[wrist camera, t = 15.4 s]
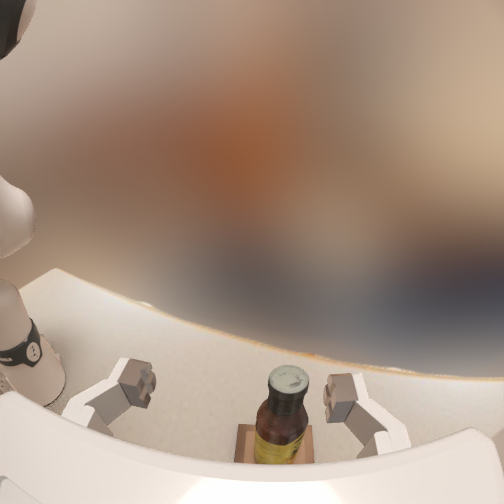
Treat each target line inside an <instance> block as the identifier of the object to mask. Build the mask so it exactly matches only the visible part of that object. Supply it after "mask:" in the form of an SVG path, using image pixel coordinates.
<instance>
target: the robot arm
mask: <svg viewBox="0 0 504 504" xmlns="http://www.w3.org/2000/svg"><path fill="white" fill-rule="evenodd" d="M36 2H37V0H0V60H1V59H3V58H4V57H6V56H7V55H8V54H9V53H10V52H11V51H12V50H13V49H14V48H15V47H16V45H17V44H18V43H19V41H20V39H21V37H22V35H23V34H24V32H25V30H26V29H27V27H28V25H29V23H30V21H31V19H32V17H33V14H34V11H35V7H36ZM35 223H36V217H35V210H34V207H33V204H32V202H31V200H30V198H29V197H28V195H27V194H26V193H25V192H24V191H22V190H21V189H19V188H16V187H14V186H12V185H11V184H9V183H8V182H7V181H5V180H4V179H3V178H2V177H1V175H0V259H2V258H4V257H6V256H8V255H11V254H13V253H14V252H16V251H17V250H19V249H20V248H22V247H23V246H24V245H26V244H27V243H29V242H30V241H31V239H32V236H33V234H34V230H35ZM151 370H152V365H151V363H149V362H144V361H140V360H135V359H131V358H126V357H121V358H120V359H119V360H118V362H117V364H116V365H115V367H114V369H113V371H112V372H111V374H110V376H109V378H108V379H104V380H102V381H101V382H99V383H97V384H95V385H93V386H92V387H90V388H88V389H86V390H85V391H83V392H81V393H79V394H77V395H76V396H74V397H72V398H71V399H70V401H69V402H68V404H67V406H66V407H65V409H64V411H63V413H62V414H61V416H60V415H58V414H56V413H54V412H52V411H50V410H48V409H46V408H44V407H43V406H45V405H47V404H49V403H51V402H52V401H53V400H55V399H56V398H57V397H58V396H59V394H60V393H61V391H62V390H63V387H64V385H65V378H66V377H65V372H64V369H63V367H62V365H61V356H60V355H59V354H58V353H55V352H53V350H52V348H51V347H50V345H49V344H48V342H47V340H46V339H45V337H44V336H43V335H42V334H39V332H38V330H37V327H36V325H35V324H34V322H33V320H32V319H31V318H30V317H29V315H28V313H27V311H26V308H25V306H24V303H23V301H22V298H21V296H20V293H19V291H18V289H17V288H16V286H15V285H14V284H12V283H11V282H9V281H7V280H5V279H0V390H1V391H2V392H3V393H4V394H1V395H0V504H504V474H503V470H502V467H501V463H500V459H499V456H498V453H497V450H496V447H495V444H494V442H493V441H492V439H491V438H490V437H488V436H487V435H485V434H484V433H482V432H481V431H479V430H477V429H475V428H473V427H469V428H465V429H463V430H460V431H458V432H455V433H453V434H450V435H448V436H445V437H442V438H439V439H436V440H433V441H430V442H427V443H424V444H420V445H417V446H413V447H411V443H410V440H409V437H408V433H407V430H406V427H405V425H404V424H402V423H401V422H400V421H399V420H397V419H396V418H395V417H394V416H392V415H391V414H390V413H389V412H388V411H386V410H385V409H384V408H383V407H382V406H380V405H379V404H378V403H377V402H376V401H374V400H373V399H370V398H369V395H368V391H367V388H366V385H365V381H364V378H363V375H362V373H346V374H331V375H329V376H328V379H327V382H328V384H327V385H325V388H324V394H323V400H324V405H325V406H326V407H327V408H326V411H325V415H326V422H327V423H340V422H344V423H345V425H346V426H347V427H348V428H349V429H350V430H351V432H352V433H353V434H354V435H355V436H356V437H357V438H358V440H359V441H360V442H361V443H362V444H363V445H364V446H365V447H364V448H363V449H362V451H361V452H360V453H359V454H358V455H357V459H351V460H344V461H335V462H325V463H312V464H248V463H235V462H224V461H216V460H208V459H201V458H195V457H189V456H184V455H178V454H173V453H169V452H164V451H160V450H156V449H152V448H148V447H144V446H140V445H137V444H133V443H130V442H127V441H124V440H121V439H117V438H114V437H112V436H113V434H112V432H111V431H110V429H109V428H108V427H107V425H109V424H110V423H111V422H112V421H114V420H115V419H116V418H117V417H119V416H120V415H121V414H122V413H124V412H125V411H126V410H127V409H129V408H130V407H131V405H132V406H136V407H141V408H146V409H147V407H148V404H149V402H150V399H151V398H150V395H149V394H151V393H152V392H154V389H155V386H156V377H155V374H154V373H153V372H152V371H151Z"/></svg>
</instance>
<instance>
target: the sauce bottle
mask: <svg viewBox="0 0 504 504" xmlns="http://www.w3.org/2000/svg"><path fill="white" fill-rule="evenodd" d="M308 385H309V377H308V375H307V373H306V372H305V371H304V370H302V369H301V368H299V367H296V366H292V365H284V366H280V367H278V368H276V369H274V370H273V371H272V372H271V373H270V376H269V380H268V387H269V396H268V399H266V400H265V401H264V402H263V403H262V404H261V406H260V408H259V409H258V412H257V417H256V418H257V421H256V425H255V444H254V456H255V460H256V462H257V464H292V463H293V462H294V460H295V459H296V456H297V453H298V451H299V448H300V445H301V443H302V440H303V437H304V434H305V431H306V428H307V425H308V415H307V413H306V410H305V408H304V405H303V399H304V396H305V394H306V392H307V390H308Z"/></svg>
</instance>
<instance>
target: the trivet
mask: <svg viewBox="0 0 504 504" xmlns="http://www.w3.org/2000/svg"><path fill="white" fill-rule="evenodd" d="M254 444H255V425H247V424H239V425H238V434H237V443H236V451H235V459H234V462H235V463H248V464H257V462H256V460H255V456H254ZM312 463H314V449H313V437H312V425H307V428H306V431H305V434H304V437H303V440H302V443H301V445H300V448H299V451H298V453H297V456H296V459H295V460H294V462H293V463H292V464H312Z"/></svg>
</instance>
